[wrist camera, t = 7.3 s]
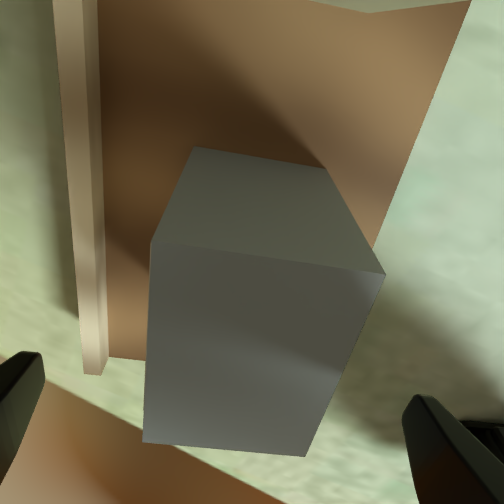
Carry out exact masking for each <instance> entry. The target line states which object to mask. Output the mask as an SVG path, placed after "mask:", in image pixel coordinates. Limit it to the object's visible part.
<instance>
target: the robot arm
mask: <svg viewBox="0 0 504 504" xmlns="http://www.w3.org/2000/svg"><path fill="white" fill-rule="evenodd" d="M44 383H45V372H44V366H43V360H42V356H41V354H40V353H38V352H29V351H21V352H18V353H17V354H15V355H14V356H12V357H11V358H9V359H8V360H6V361H5V362H3V363H2V364H0V485H1V483H2V481H3V479H4V477H5V475H6V473H7V471H8V469H9V468H10V466H11V464H12V462H13V460H14V458H15V456H16V454H17V451H18V449H19V447H20V444H21V442H22V439H23V437H24V434H25V432H26V429H27V427H28V424H29V422H30V419H31V416H32V414H33V412H34V409H35V407H36V404H37V402H38V399H39V397H40V394H41V392H42V389H43V387H44ZM402 426H403V432H404V437H405V442H406V447H407V452H408V457H409V462H410V467H411V472H412V477H413V482H414V486H415V490H416V494H417V497H418V501H419V504H504V425H501V424H491V423H482V422H472V421H462V422H459V421H458V420H457V419H456V418H455V417H454V416H453V415H452V414H451V413H450V412H449V411H448V410H447V409H446V408H445V407H444V406H443V405H442V404H440V403H439V402H438V401H437V400H436V399H435V398H434V397H432V396H430V395H421V394H416V395H414V396H413V398H412V399H411V401H410V403H409V404H408V406H407V407H406V409H405V411H404V412H403V415H402Z"/></svg>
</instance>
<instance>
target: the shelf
mask: <svg viewBox="0 0 504 504" xmlns="http://www.w3.org/2000/svg"><path fill="white" fill-rule="evenodd" d="M471 1H472V0H468V1H460V2H452V3H444V4H436V5H429V6H421V7H413V8H405V9H397V10H390V11H382V12H374V13H365V12H360V11H356V10H351V9H347V8H342V7H337V6H333V5H328V4H324V3H319V2H314V1H310V0H52V2H53V14H54V26H55V38H56V49H57V61H58V73H59V85H60V97H61V108H62V120H63V132H64V144H65V156H66V167H67V179H68V191H69V203H70V215H71V226H72V238H73V250H74V262H75V274H76V285H77V297H78V309H79V321H80V333H81V344H82V356H83V368H84V374H91V375H100V376H101V374H102V372H103V370H104V367H105V365H106V362H107V360H108V358H109V357H115V358H124V359H133V360H142V361H146V339H147V316H148V293H149V270H150V247H151V240H152V238H153V236H154V233H155V231H156V229H157V227H158V224H159V222H160V220H161V218H162V216H163V213H164V211H165V209H166V207H167V205H168V202H169V200H170V198H171V196H172V194H173V191H174V189H175V187H176V185H177V182H178V180H179V178H180V176H181V174H182V171H183V169H184V167H185V165H186V163H187V160H188V158H189V156H190V154H191V152H192V149H193V147H194V146H197V147H203V148H208V149H214V150H220V151H226V152H231V153H237V154H243V155H249V156H254V157H260V158H266V159H272V160H277V161H283V162H289V163H294V164H300V165H306V166H312V167H317V168H323V169H327V171H328V173H329V175H330V176H331V178H332V180H333V182H334V183H335V185H336V187H337V189H338V190H339V192H340V194H341V196H342V198H343V199H344V201H345V203H346V205H347V206H348V208H349V210H350V212H351V213H352V215H353V217H354V219H355V221H356V222H357V224H358V226H359V228H360V229H361V231H362V233H363V235H364V236H365V238H366V240H367V242H368V244H369V245H370V247H371V249H372V248H373V246H374V243H375V241H376V238H377V236H378V233H379V231H380V228H381V226H382V223H383V221H384V218H385V216H386V213H387V211H388V208H389V206H390V203H391V201H392V198H393V196H394V193H395V191H396V188H397V186H398V183H399V181H400V178H401V176H402V173H403V171H404V168H405V166H406V163H407V161H408V158H409V156H410V153H411V151H412V148H413V146H414V143H415V141H416V138H417V136H418V133H419V131H420V128H421V126H422V123H423V121H424V118H425V116H426V113H427V111H428V108H429V106H430V103H431V101H432V98H433V96H434V93H435V91H436V88H437V86H438V83H439V81H440V78H441V76H442V73H443V71H444V68H445V66H446V63H447V61H448V58H449V56H450V53H451V51H452V48H453V46H454V43H455V41H456V38H457V36H458V33H459V31H460V28H461V26H462V23H463V21H464V18H465V16H466V13H467V11H468V8H469V6H470V3H471Z"/></svg>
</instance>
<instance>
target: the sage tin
mask: <svg viewBox="0 0 504 504" xmlns="http://www.w3.org/2000/svg"><path fill="white" fill-rule="evenodd" d="M310 1H314V2H319V3H324V4H328V5H333V6H337V7H342V8H347V9H351V10H356V11H360V12H365V13H374V12H382V11H390V10H397V9H405V8H413V7H421V6H429V5H436V4H444V3H452V2H460V1H468V0H310Z"/></svg>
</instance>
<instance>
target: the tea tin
mask: <svg viewBox="0 0 504 504" xmlns="http://www.w3.org/2000/svg"><path fill="white" fill-rule="evenodd" d="M385 276H386V274H385V272H384V270H383V268H382V267H381V265H380V263H379V261H378V259H377V258H376V256H375V254H374V252H373V251H372V249H371V247H370V245H369V244H368V242H367V240H366V238H365V236H364V235H363V233H362V231H361V229H360V228H359V226H358V224H357V222H356V221H355V219H354V217H353V215H352V213H351V212H350V210H349V208H348V206H347V205H346V203H345V201H344V199H343V198H342V196H341V194H340V192H339V190H338V189H337V187H336V185H335V183H334V182H333V180H332V178H331V176H330V175H329V173H328V171H327V169H323V168H317V167H312V166H306V165H300V164H294V163H289V162H283V161H277V160H272V159H266V158H260V157H254V156H249V155H243V154H237V153H231V152H226V151H220V150H214V149H208V148H203V147H197V146H194V147H193V149H192V152H191V154H190V156H189V158H188V160H187V163H186V165H185V167H184V169H183V171H182V174H181V176H180V178H179V180H178V182H177V185H176V187H175V189H174V191H173V194H172V196H171V198H170V200H169V202H168V205H167V207H166V209H165V211H164V213H163V216H162V218H161V220H160V222H159V224H158V227H157V229H156V231H155V233H154V236H153V238H152V240H151V247H150V270H149V293H148V316H147V339H146V362H145V385H144V408H143V410H144V418H143V440H142V441H143V442H147V443H148V442H149V443H159V444H169V445H180V446H191V447H201V448H212V449H223V450H234V451H245V452H256V453H267V454H278V455H289V456H299V457H305V456H306V454H307V452H308V449H309V447H310V445H311V443H312V440H313V438H314V436H315V434H316V431H317V429H318V427H319V425H320V422H321V420H322V418H323V416H324V413H325V411H326V409H327V407H328V404H329V402H330V400H331V398H332V395H333V393H334V391H335V389H336V386H337V384H338V382H339V380H340V377H341V375H342V373H343V371H344V368H345V366H346V364H347V362H348V359H349V357H350V355H351V353H352V350H353V348H354V346H355V344H356V341H357V339H358V337H359V335H360V332H361V330H362V328H363V326H364V323H365V321H366V319H367V316H368V314H369V312H370V310H371V307H372V305H373V303H374V301H375V298H376V296H377V294H378V292H379V289H380V287H381V285H382V283H383V280H384V278H385Z"/></svg>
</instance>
